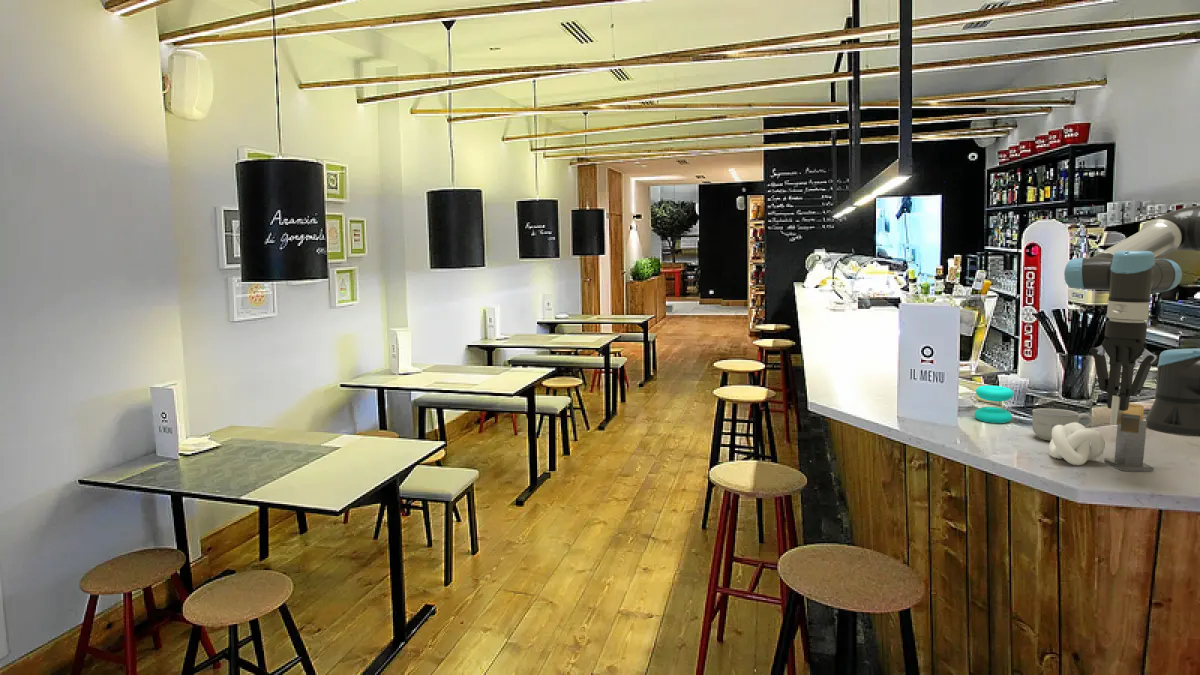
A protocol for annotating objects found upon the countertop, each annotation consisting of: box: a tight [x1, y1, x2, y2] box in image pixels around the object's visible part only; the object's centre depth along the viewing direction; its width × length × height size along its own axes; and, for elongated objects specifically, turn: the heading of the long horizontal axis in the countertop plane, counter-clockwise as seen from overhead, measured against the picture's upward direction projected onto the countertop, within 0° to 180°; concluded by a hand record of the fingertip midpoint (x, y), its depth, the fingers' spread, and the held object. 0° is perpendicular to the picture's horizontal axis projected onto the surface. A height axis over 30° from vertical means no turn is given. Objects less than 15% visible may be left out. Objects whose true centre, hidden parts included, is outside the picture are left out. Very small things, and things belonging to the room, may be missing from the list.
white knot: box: [1048, 422, 1106, 466], centre depth 179 cm, size 11×12×9 cm
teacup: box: [1032, 408, 1093, 442], centre depth 198 cm, size 14×11×8 cm
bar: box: [1121, 403, 1145, 433], centre depth 168 cm, size 18×4×3 cm, turn 142°
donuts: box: [974, 384, 1014, 424], centre depth 221 cm, size 10×10×10 cm
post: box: [1103, 419, 1155, 472], centre depth 174 cm, size 7×7×12 cm
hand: (1116, 423), depth 166 cm, fingers closed
